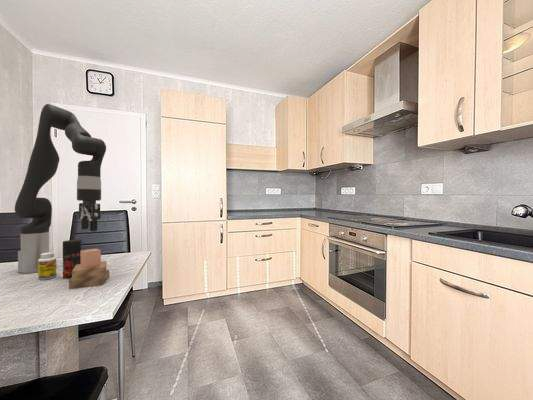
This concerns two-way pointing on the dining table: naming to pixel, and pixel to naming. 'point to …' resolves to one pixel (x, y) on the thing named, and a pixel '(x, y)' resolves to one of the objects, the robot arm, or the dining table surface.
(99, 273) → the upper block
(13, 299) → the dining table surface
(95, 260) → the clay block
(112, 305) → the dining table surface
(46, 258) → the supplement bottle
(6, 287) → the dining table surface
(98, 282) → the lower block
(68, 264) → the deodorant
